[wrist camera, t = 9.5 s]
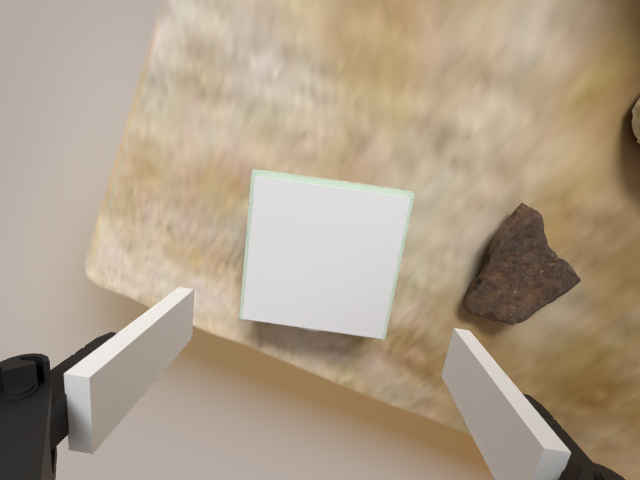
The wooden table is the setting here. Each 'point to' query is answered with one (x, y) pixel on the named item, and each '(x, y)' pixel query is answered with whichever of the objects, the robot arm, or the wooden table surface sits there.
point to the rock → (519, 272)
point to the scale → (322, 253)
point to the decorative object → (636, 120)
